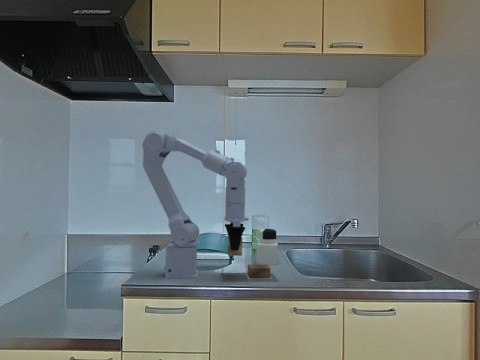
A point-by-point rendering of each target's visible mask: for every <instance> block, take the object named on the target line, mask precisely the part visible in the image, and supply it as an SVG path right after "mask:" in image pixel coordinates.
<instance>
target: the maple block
mask: <svg viewBox="0 0 480 360" xmlns="http://www.w3.org/2000/svg"><path fill="white" fill-rule="evenodd" d="M226 249H227V253H226V254H227V256H236V257H237V256H241V257H242V256H243V236H242V237H241V241H240V246H239V250H231V247H230V239H229V237H228V236H227V248H226Z"/></svg>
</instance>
